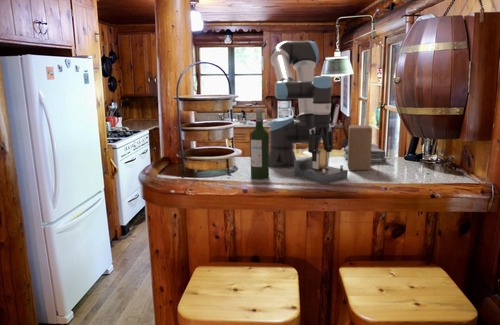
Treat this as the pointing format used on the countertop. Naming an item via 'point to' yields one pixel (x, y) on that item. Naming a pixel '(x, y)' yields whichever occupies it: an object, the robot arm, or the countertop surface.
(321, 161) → the brass cylinder
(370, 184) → the countertop surface
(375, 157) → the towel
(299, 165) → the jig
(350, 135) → the wooden block
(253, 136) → the wine bottle
